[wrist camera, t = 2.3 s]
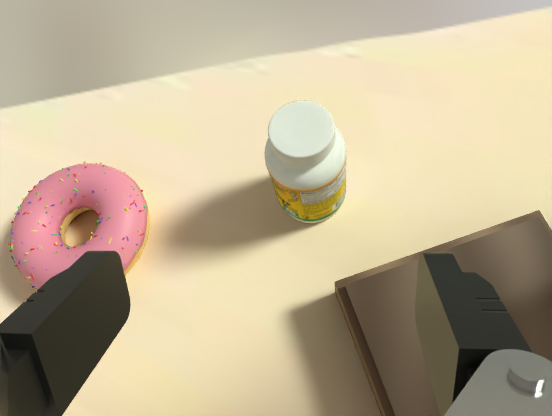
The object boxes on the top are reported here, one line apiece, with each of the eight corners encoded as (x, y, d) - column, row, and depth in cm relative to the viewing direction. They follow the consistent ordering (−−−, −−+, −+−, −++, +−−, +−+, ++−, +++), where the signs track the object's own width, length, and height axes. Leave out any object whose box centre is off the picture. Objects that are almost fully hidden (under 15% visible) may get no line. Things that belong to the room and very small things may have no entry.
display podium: (518, 227, 32) (542, 207, 28) (641, 436, 26) (690, 444, 22) (335, 292, 32) (334, 280, 28) (418, 513, 26) (431, 534, 23)
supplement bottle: (354, 213, 34) (359, 152, 25) (288, 233, 34) (269, 180, 25) (332, 154, 36) (330, 79, 27) (270, 174, 36) (247, 106, 27)
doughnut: (96, 154, 39) (70, 129, 36) (185, 219, 36) (166, 200, 32) (6, 250, 37) (-32, 235, 33) (92, 331, 33) (59, 324, 30)
